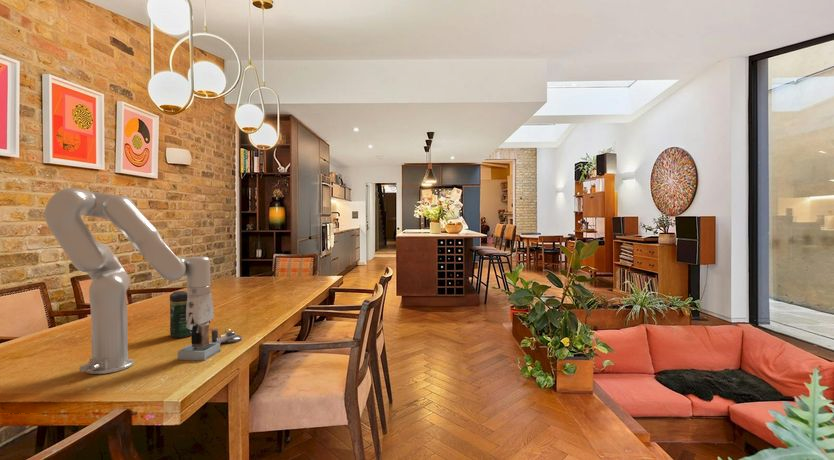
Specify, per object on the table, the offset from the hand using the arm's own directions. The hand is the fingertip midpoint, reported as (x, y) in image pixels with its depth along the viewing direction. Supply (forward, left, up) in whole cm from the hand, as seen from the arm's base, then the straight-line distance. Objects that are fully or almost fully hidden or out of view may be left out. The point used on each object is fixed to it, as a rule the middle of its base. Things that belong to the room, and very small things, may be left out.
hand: (200, 341), depth 149 cm
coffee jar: (+23, +22, -5) cm, 32 cm away
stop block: (0, 0, -1) cm, 1 cm away
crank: (+14, -1, -4) cm, 14 cm away
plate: (+23, +2, -5) cm, 24 cm away
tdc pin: (+23, +2, -5) cm, 24 cm away
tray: (0, 0, -5) cm, 5 cm away
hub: (+18, -2, -5) cm, 19 cm away
